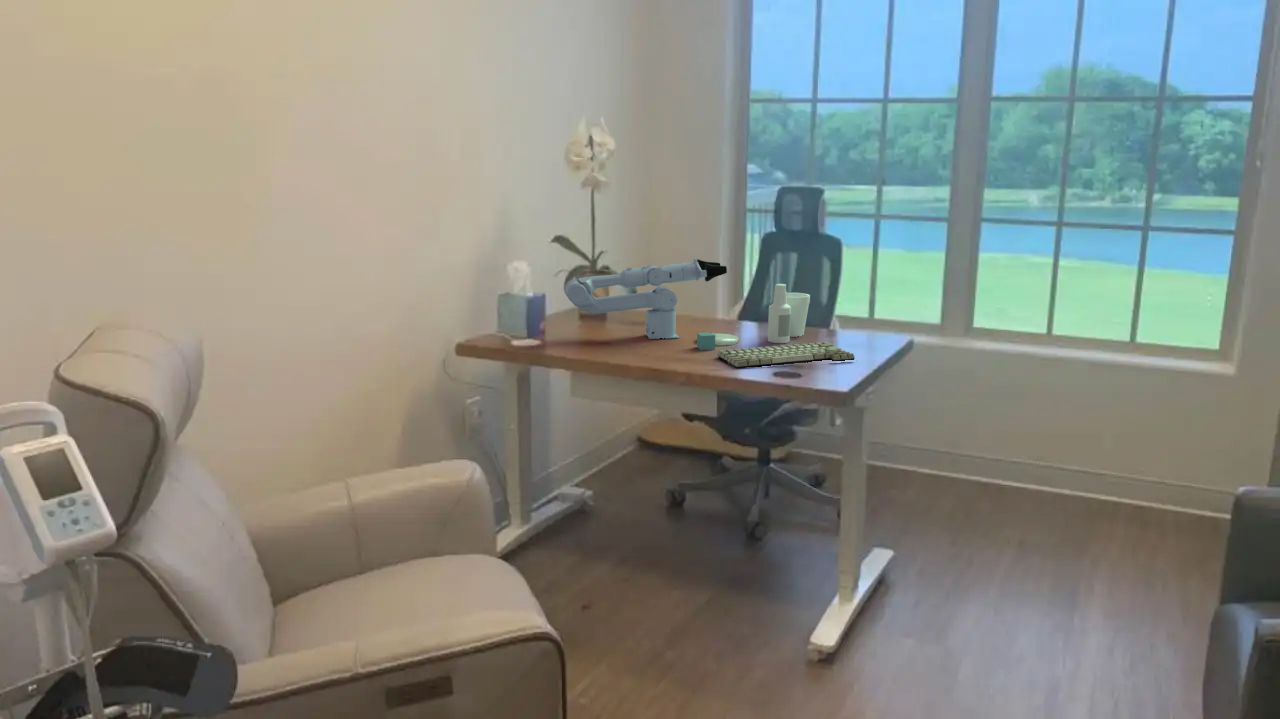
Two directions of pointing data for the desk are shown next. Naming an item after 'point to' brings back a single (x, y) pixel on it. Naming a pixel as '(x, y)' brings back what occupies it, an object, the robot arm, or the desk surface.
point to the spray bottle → (779, 316)
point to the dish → (725, 339)
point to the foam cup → (798, 312)
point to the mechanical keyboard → (783, 355)
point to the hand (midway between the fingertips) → (723, 267)
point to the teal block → (706, 341)
